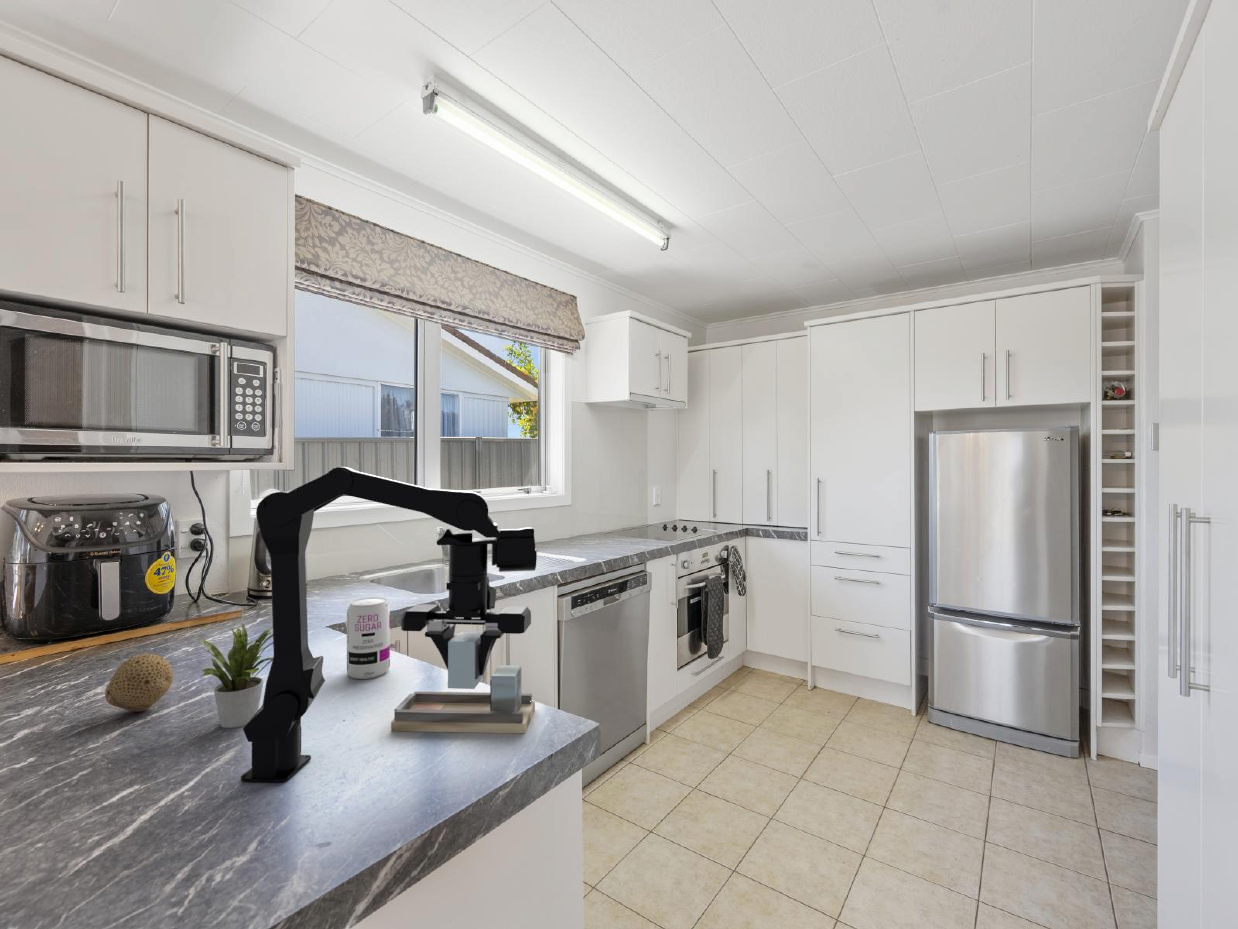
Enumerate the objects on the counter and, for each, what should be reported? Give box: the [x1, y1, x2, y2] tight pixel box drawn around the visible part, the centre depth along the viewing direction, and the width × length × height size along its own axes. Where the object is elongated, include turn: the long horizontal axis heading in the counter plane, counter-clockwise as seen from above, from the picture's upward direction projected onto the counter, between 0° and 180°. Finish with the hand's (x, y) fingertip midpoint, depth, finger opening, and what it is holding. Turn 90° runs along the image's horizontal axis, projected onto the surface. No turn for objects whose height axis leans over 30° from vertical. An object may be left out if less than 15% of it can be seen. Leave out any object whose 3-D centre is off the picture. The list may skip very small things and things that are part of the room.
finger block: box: [447, 631, 485, 690], centre depth 88 cm, size 5×4×7 cm
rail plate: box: [390, 664, 536, 734], centre depth 98 cm, size 9×22×8 cm, turn 88°
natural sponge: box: [104, 653, 174, 713], centre depth 101 cm, size 9×9×10 cm
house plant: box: [195, 622, 273, 729], centre depth 97 cm, size 14×14×16 cm
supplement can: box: [346, 597, 391, 680], centre depth 120 cm, size 8×8×15 cm
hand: (467, 674), depth 88 cm, fingers closed on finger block, 4 cm apart
